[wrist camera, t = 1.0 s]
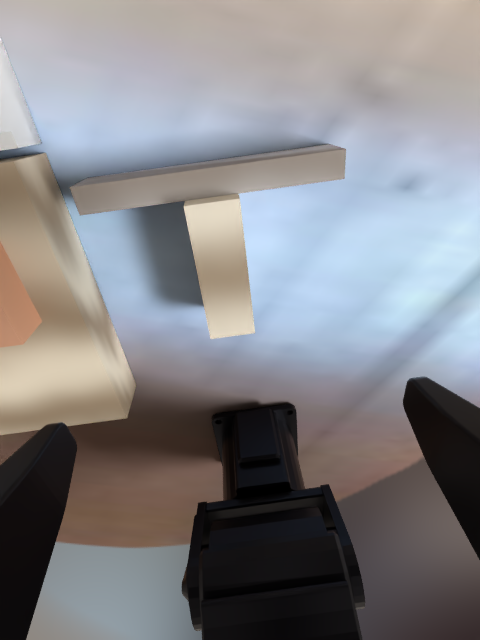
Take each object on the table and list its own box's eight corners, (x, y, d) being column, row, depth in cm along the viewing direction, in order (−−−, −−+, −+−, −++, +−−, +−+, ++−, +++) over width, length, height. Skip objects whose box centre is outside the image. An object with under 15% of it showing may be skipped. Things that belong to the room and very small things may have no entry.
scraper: (325, 290, 21) (343, 321, 18) (135, 316, 21) (122, 351, 18) (328, 144, 16) (354, 151, 13) (87, 177, 16) (60, 192, 14)
